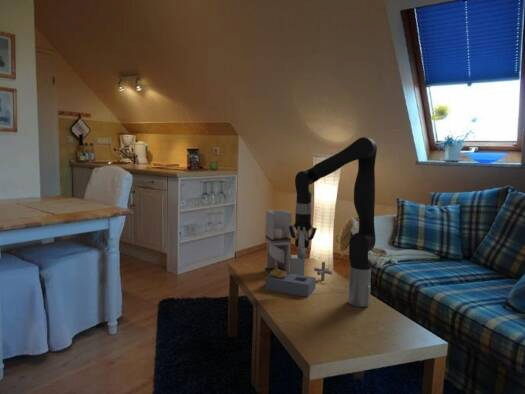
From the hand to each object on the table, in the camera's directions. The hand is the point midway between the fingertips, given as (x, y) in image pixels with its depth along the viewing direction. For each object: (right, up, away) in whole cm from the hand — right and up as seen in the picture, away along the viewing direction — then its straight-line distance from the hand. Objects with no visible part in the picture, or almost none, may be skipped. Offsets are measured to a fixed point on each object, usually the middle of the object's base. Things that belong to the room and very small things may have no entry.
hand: (301, 247), depth 194 cm
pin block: (-5, -22, +5) cm, 23 cm away
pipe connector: (+13, -21, +20) cm, 31 cm away
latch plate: (-11, -15, +6) cm, 19 cm away
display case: (-11, -19, +29) cm, 36 cm away
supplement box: (-1, -20, +20) cm, 28 cm away
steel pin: (0, -5, +1) cm, 5 cm away
